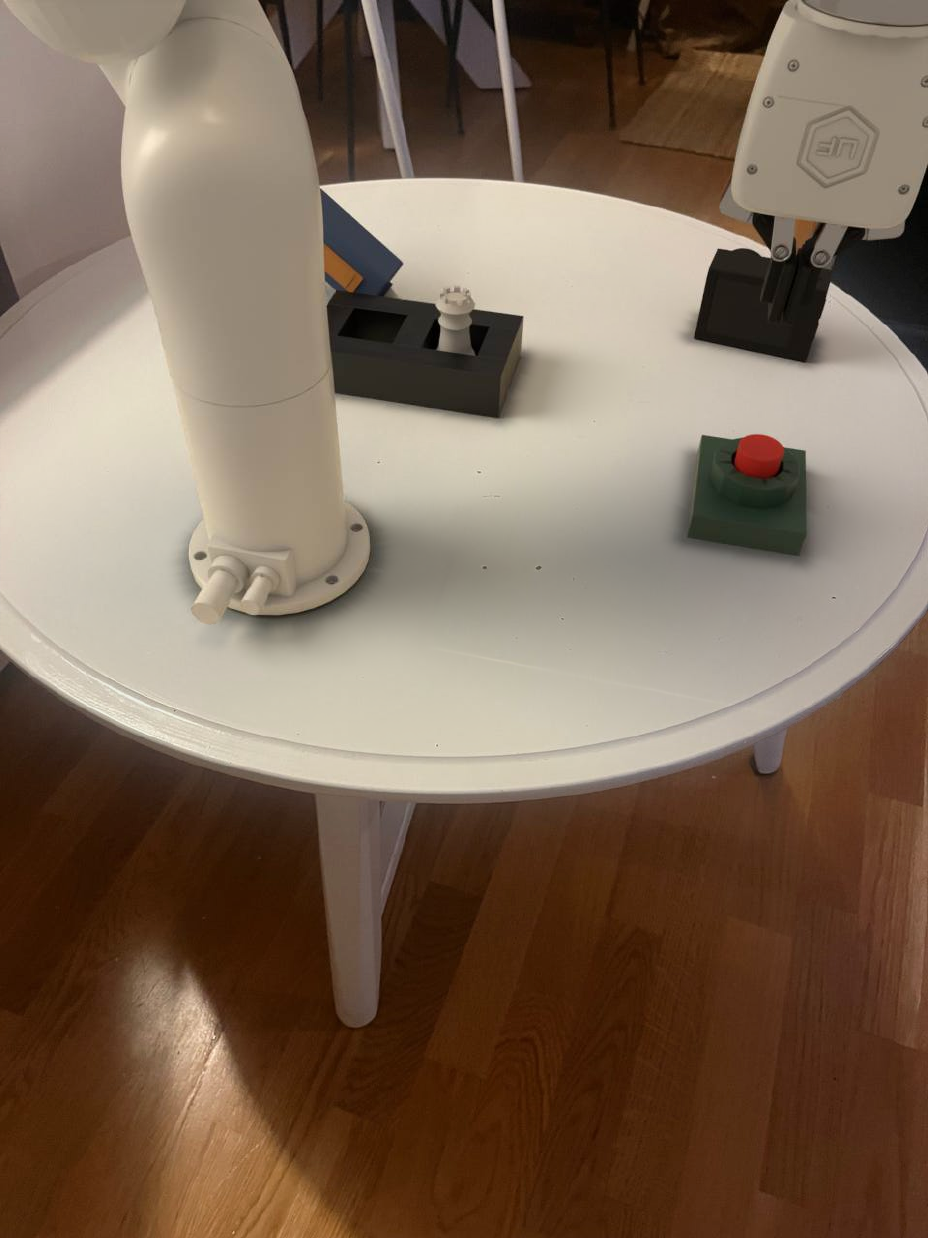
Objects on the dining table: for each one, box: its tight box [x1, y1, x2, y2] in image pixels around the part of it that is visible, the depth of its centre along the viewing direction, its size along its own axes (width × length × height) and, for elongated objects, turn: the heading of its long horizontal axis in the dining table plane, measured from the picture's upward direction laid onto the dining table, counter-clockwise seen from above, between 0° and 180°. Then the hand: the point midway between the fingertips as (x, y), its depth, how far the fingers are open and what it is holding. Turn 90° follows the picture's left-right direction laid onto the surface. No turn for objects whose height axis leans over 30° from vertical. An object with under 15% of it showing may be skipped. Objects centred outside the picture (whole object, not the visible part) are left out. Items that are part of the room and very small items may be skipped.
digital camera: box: [693, 247, 834, 362], centre depth 88 cm, size 10×5×7 cm, turn 69°
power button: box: [734, 433, 784, 479], centre depth 71 cm, size 3×3×2 cm
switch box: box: [686, 434, 808, 557], centre depth 73 cm, size 10×8×4 cm
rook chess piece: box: [434, 285, 476, 356], centre depth 82 cm, size 4×4×8 cm
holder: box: [326, 290, 524, 419], centre depth 84 cm, size 10×17×4 cm, turn 77°
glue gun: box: [320, 187, 404, 299], centre depth 91 cm, size 6×31×15 cm
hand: (780, 313), depth 63 cm, fingers closed
